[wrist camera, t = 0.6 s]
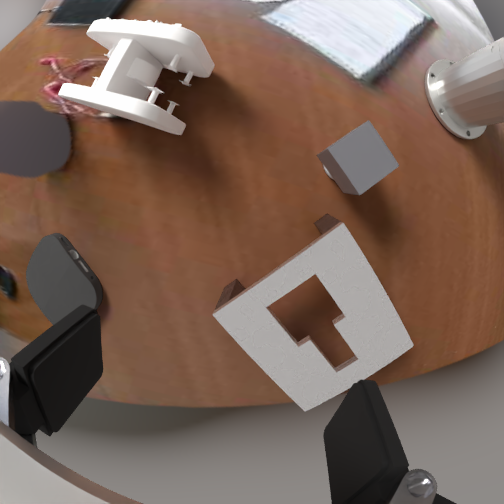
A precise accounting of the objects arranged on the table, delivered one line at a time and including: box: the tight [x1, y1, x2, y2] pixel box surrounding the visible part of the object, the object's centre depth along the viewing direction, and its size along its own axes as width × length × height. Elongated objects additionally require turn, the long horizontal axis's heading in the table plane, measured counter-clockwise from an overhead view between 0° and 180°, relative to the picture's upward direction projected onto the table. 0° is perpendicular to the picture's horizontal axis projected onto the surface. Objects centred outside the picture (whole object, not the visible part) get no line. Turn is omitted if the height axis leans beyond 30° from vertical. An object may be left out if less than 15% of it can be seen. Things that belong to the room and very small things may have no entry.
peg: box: [317, 120, 399, 195], centre depth 27 cm, size 5×5×10 cm
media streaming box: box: [26, 233, 103, 325], centre depth 37 cm, size 15×15×3 cm
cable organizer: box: [58, 18, 215, 135], centre depth 25 cm, size 15×11×12 cm
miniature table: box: [213, 214, 414, 411], centre depth 32 cm, size 16×18×8 cm
